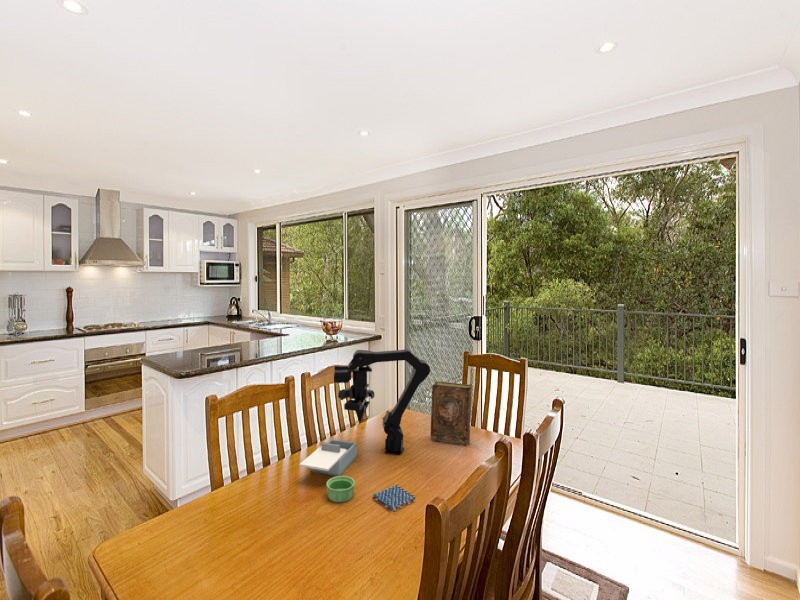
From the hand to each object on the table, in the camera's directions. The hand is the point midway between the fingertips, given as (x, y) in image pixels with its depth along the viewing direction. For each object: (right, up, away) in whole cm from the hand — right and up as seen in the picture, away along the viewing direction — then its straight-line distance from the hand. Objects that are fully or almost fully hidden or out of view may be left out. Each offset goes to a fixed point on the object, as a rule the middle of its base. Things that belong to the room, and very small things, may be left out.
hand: (360, 420), depth 160 cm
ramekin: (-3, -15, -31) cm, 35 cm away
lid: (-11, -8, -18) cm, 23 cm away
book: (+38, -13, +13) cm, 42 cm away
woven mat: (+14, -16, -33) cm, 39 cm away
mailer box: (-8, -13, -10) cm, 19 cm away
